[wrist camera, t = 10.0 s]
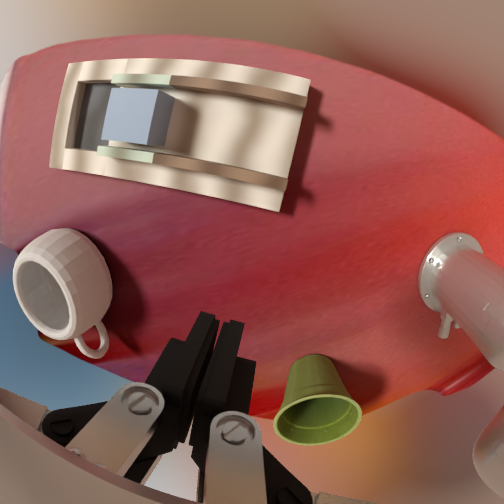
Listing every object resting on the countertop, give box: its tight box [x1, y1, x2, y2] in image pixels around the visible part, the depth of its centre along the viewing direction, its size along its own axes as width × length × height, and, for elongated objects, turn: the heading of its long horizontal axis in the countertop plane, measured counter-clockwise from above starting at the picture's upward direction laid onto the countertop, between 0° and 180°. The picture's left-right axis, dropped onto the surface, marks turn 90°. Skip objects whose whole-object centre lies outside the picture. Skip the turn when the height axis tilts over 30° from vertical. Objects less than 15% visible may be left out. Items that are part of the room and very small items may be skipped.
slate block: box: [101, 88, 175, 146], centre depth 28 cm, size 6×6×5 cm
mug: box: [13, 228, 112, 359], centre depth 37 cm, size 21×17×10 cm
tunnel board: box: [49, 58, 311, 212], centre depth 31 cm, size 34×16×5 cm, turn 77°
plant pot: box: [273, 354, 362, 446], centre depth 38 cm, size 12×12×11 cm
